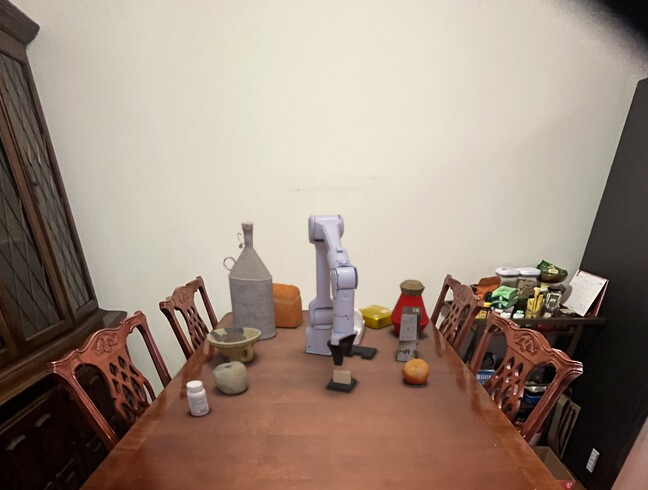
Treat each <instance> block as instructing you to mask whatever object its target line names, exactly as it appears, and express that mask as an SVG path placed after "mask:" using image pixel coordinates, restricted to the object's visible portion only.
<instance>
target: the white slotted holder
mask: <svg viewBox="0 0 648 490" xmlns="http://www.w3.org/2000/svg"><path fill="white" fill-rule="evenodd" d="M358 309H359V308H358V307H355V306H354V329H355V330H357V331H358V334H357V336H356V338H355V340H354V343H353V345H356V346H358V345H360V342H361V340H362V337H363V334H364V332H365V326H364V325H365V320H363V316H362V313H361V312H360V310H358Z"/></svg>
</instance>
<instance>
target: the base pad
mask: <svg viewBox="0 0 648 490" xmlns="http://www.w3.org/2000/svg"><path fill="white" fill-rule="evenodd" d="M377 351H378V348H377V347H372V346H371V347H370V346H363V345H354V344H353V346H352V351H351V354H350V356H348V357H349V358H352V357H353V356H361V359H364V360H372V359H373V357H374V356H375V355H376V353H377Z"/></svg>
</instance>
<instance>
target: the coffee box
mask: <svg viewBox="0 0 648 490" xmlns="http://www.w3.org/2000/svg"><path fill="white" fill-rule="evenodd" d="M421 315H422V308H421V307H404V306H403V308H402V315H401V325H400V335H399V337H398V346H397V347H398V348H397V356H396V357H397V358H396V360H397V362H398V361H400V362H408V361H409V360H412V359H417V353H418V346H419V338H420V336H419V332H420V323H421Z"/></svg>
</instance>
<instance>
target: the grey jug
mask: <svg viewBox="0 0 648 490" xmlns="http://www.w3.org/2000/svg"><path fill="white" fill-rule="evenodd" d="M240 225H241V230H242V232H243V233H240V232H237V233H236V235H237V239H238V241H239V242H240V243H239V245H238V248H239V249H242V251H241V252H240V254H239V256H238V257H237V259H235V258H234V257H233V256H226V257H225V258H224V260H223V263H222V266H224V269H226V270H228V272H229V273H228V274H227V275H228V276H227V277H228V287H229V295H230V303H231V313H232V320H233V327H246V328H254V329H258V330H260V331H261V336H260V338H258V340H257V341H262V340H268V339H271V338H273V337H275V336H276V334H277V332H276V327H275V314H274V298H273V283H274V282H273V275H272V274H271V272H270V271H269V269H268V267H267V266H266V264H265V263H264V262H263V260H262V258H261V257H260V255H259V254H258V252H257V250H256V249H255V247H254V222H253V221H250V220H245V221H242V222H241V223H240ZM239 235H240V236H242V238H243V242H241V239H240V237H239ZM243 244H244V246H243ZM228 259H230V260H232V261H233V263H234V264H233V265H232V267H231V268H228V266H226V264H225V262H226V260H228Z"/></svg>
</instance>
